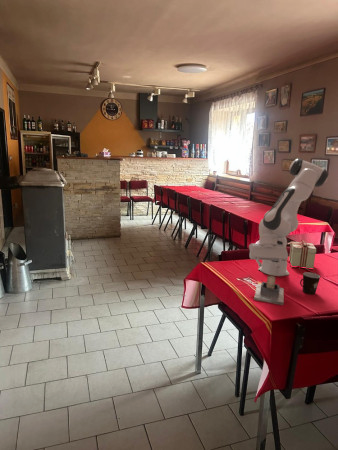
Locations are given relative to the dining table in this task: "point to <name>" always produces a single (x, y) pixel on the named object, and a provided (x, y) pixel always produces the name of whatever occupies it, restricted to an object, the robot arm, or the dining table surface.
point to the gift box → (302, 254)
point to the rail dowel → (270, 282)
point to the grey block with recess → (269, 294)
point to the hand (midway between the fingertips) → (269, 266)
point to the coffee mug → (310, 283)
